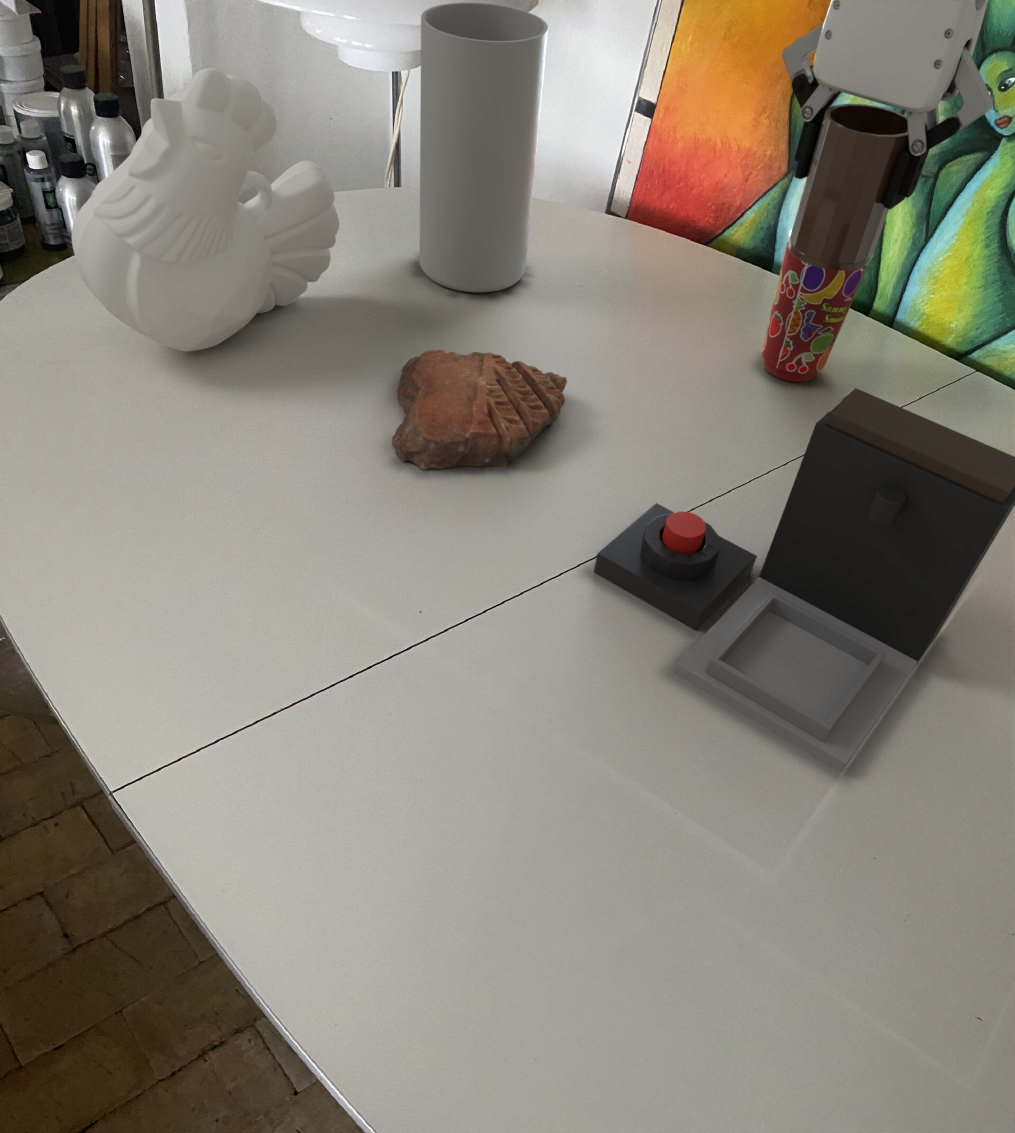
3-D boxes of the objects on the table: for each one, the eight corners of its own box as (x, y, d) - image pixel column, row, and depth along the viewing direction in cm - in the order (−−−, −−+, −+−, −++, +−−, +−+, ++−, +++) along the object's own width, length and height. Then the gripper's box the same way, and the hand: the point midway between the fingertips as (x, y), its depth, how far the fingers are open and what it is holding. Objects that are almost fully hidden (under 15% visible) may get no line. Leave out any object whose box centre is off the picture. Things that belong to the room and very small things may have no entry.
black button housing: (750, 575, 80) (763, 539, 78) (695, 632, 76) (707, 595, 73) (651, 522, 84) (660, 485, 81) (593, 573, 79) (600, 536, 76)
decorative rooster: (59, 327, 85) (204, 92, 73) (33, 219, 92) (162, -13, 80) (286, 418, 104) (431, 242, 92) (251, 322, 111) (382, 147, 99)
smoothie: (811, 399, 99) (882, 201, 84) (738, 371, 102) (795, 174, 87) (839, 366, 104) (910, 173, 89) (768, 340, 107) (827, 148, 92)
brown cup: (884, 252, 80) (930, 121, 72) (849, 279, 76) (894, 144, 69) (810, 226, 82) (848, 97, 75) (773, 251, 79) (809, 118, 71)
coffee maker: (935, 637, 77) (1039, 464, 64) (840, 773, 67) (941, 601, 55) (782, 557, 82) (850, 382, 70) (673, 673, 72) (729, 494, 60)
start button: (708, 540, 77) (713, 523, 76) (688, 559, 76) (693, 543, 74) (675, 522, 79) (679, 506, 77) (654, 541, 77) (658, 524, 76)
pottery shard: (561, 386, 98) (566, 350, 95) (568, 478, 87) (573, 441, 84) (402, 375, 97) (402, 339, 94) (389, 466, 86) (389, 429, 84)
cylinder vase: (397, 262, 112) (395, 12, 94) (477, 236, 118) (489, -4, 100) (467, 306, 107) (479, 49, 88) (547, 276, 113) (574, 30, 94)
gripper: (1090, -78, 61) (971, 209, 74) (841, -127, 67) (774, 145, 81) (1052, -62, 57) (934, 239, 70) (792, -116, 63) (730, 168, 77)
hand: (849, 186), depth 75 cm, fingers closed on brown cup, 6 cm apart
